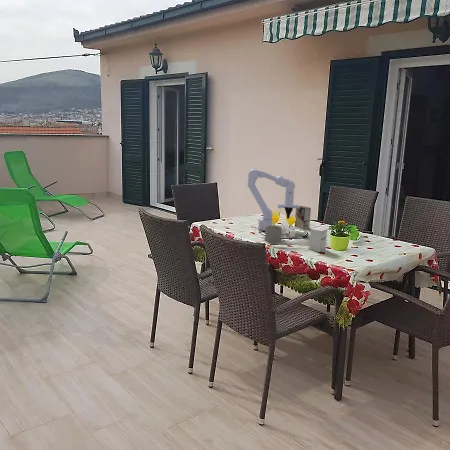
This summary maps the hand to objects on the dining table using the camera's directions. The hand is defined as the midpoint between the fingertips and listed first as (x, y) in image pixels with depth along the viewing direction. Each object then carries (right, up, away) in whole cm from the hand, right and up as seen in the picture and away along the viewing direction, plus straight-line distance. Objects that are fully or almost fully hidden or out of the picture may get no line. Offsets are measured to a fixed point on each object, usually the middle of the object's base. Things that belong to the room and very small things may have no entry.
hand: (287, 218), depth 312 cm
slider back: (-4, -9, -2) cm, 10 cm away
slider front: (+1, -12, -16) cm, 20 cm away
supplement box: (+12, -19, -39) cm, 45 cm away
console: (0, -12, -9) cm, 15 cm away
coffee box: (+12, -8, +14) cm, 20 cm away
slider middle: (-4, -10, -9) cm, 14 cm away
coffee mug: (-12, -16, -26) cm, 32 cm away
